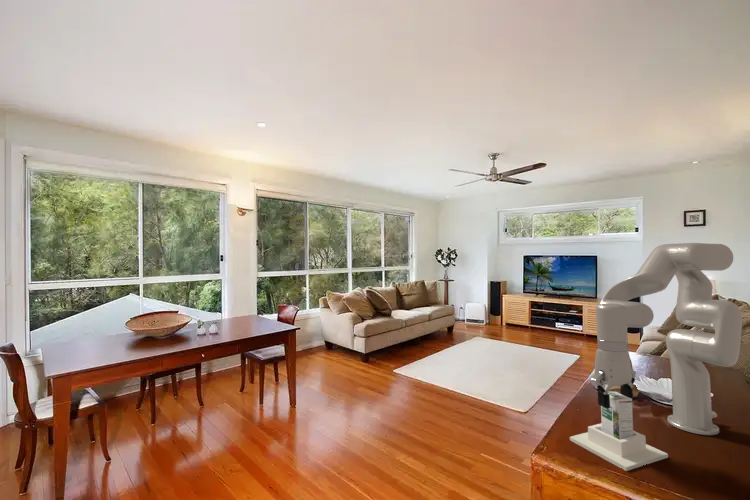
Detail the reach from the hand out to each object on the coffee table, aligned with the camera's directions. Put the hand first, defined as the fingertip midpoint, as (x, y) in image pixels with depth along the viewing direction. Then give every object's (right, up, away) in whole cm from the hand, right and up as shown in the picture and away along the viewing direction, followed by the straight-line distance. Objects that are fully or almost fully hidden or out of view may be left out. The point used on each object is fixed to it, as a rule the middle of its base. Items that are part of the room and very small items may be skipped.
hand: (615, 403), depth 102 cm
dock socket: (0, -13, -1) cm, 13 cm away
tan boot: (+32, -14, +42) cm, 55 cm away
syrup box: (0, -12, 0) cm, 12 cm away
